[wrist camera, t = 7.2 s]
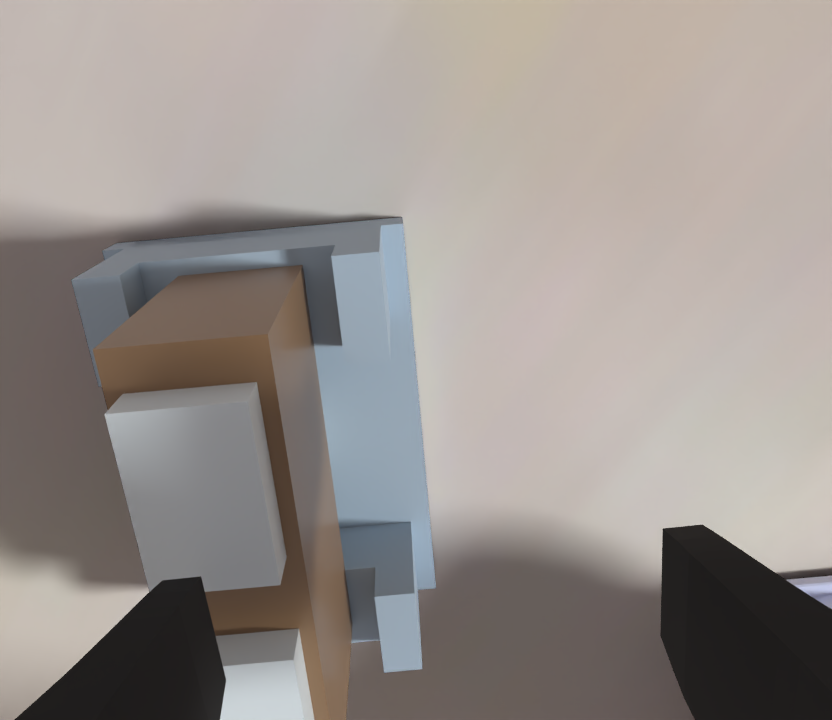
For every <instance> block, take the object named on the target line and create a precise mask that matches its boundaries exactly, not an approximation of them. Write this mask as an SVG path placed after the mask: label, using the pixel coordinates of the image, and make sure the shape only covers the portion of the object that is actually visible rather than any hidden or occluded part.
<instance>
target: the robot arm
mask: <svg viewBox="0 0 832 720" xmlns="http://www.w3.org/2000/svg"><path fill="white" fill-rule="evenodd" d="M661 638H662V641H663V643H664V646H665V649H666V652H667V654H668V657H669V660H670V663H671V665H672V668H673V671H674V673H675V676H676V678H677V681H678V684H679V686H680V689H681V691H682V694H683V696H684V699H685V701H686V703H687V705H688V707H689V709H690V711H691V713H692V715H693V716H694V718H695V720H832V575H831V576H821V577H810V578H799V579H788V580H785V579H784V578H782V577H781V576H779V575H778V574H776V573H775V572H773V571H772V570H770V569H769V568H767V567H766V566H764V565H763V564H761V563H760V562H758V561H757V560H755V559H754V558H752V557H751V556H749V555H748V554H746V553H745V552H743V551H742V550H740V549H739V548H737V547H736V546H734V545H733V544H731V543H730V542H729V541H727V540H726V539H724V538H723V537H721V536H719V535H718V534H716V533H715V532H713V531H712V530H710V529H708V528H707V527H705V526H704V525H694V526H685V527H675V528H665V529H663V547H662V595H661ZM225 684H226V677H225V673H224V669H223V665H222V661H221V657H220V652H219V648H218V644H217V640H216V636H215V632H214V628H213V624H212V619H211V615H210V611H209V607H208V603H207V599H206V595H205V591H204V586H203V582H202V578H201V576H200V577H190V578H181V579H171V580H162V581H161V582H160V583H159V584H158V585H157V586H156V587H154V588H153V589H152V590H151V591H150V592H149V593H148V594H147V595H146V596H145V597H144V598H143V599H142V600H141V601H140V602H139V603H138V604H137V605H136V606H135V607H134V608H133V609H132V610H131V611H130V612H129V613H128V614H127V615H126V616H125V617H124V618H123V619H122V620H121V621H120V622H119V623H118V624H117V625H116V626H115V627H113V628H112V629H111V630H110V631H109V632H108V633H107V634H106V635H105V636H104V637H103V638H102V639H101V640H100V641H99V642H98V643H97V644H96V645H95V646H94V647H93V648H92V649H91V650H90V651H89V652H88V653H87V654H86V655H85V656H84V657H83V658H82V659H81V660H80V661H79V662H78V663H76V664H75V665H74V666H73V667H72V668H71V669H70V670H69V671H68V672H67V673H66V674H65V675H64V676H63V677H62V678H61V679H60V680H58V681H57V682H56V683H55V684H54V685H53V686H52V687H51V688H49V689H48V690H47V691H46V692H45V693H44V694H43V695H42V696H41V697H39V698H38V699H37V700H36V701H35V702H34V703H33V704H32V705H31V706H29V707H28V708H27V709H26V710H25V711H24V712H23V713H22V714H20V715H19V716H18V717H17V718H16V719H15V720H220V716H221V710H222V703H223V697H224V691H225Z"/></svg>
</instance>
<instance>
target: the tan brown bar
mask: <svg viewBox="0 0 832 720" xmlns="http://www.w3.org/2000/svg"><path fill="white" fill-rule="evenodd" d="M93 353H94V357H95V361H96V365H97V369H98V373H99V377H100V381H101V385H102V389H103V393H104V397H105V401H106V405H107V409H108V411H107V412H106V413H105V414H104V415H105V419H106V423H107V427H108V430H109V434H110V438H111V442H112V446H113V450H114V454H115V458H116V462H117V466H118V470H119V474H120V478H121V482H122V486H123V490H124V493H125V497H126V501H127V505H128V509H129V513H130V517H131V521H132V525H133V529H134V533H135V537H136V541H137V545H138V549H139V553H140V557H141V560H142V564H143V568H144V572H145V576H146V580H147V584H148V588H149V592H150V591H151V590H152V589H153V588H154V587H156V586H157V585H158V584H159V583H160V582H161V581H162V580H171V579H181V578H190V577H200V576H201V578H202V582H203V586H204V591H205V595H206V599H207V603H208V607H209V611H210V615H211V619H212V624H213V628H214V632H215V636H216V640H217V644H218V648H219V652H220V657H221V661H222V665H223V669H224V673H225V677H226V684H225V691H224V697H223V703H222V710H221V716H220V720H346V712H347V698H348V683H349V669H350V655H351V640H352V626H353V624H352V617H351V610H350V602H349V595H348V588H347V581H346V573H345V566H344V559H343V552H342V544H341V537H340V530H339V523H338V515H337V508H336V501H335V494H334V487H333V479H332V472H331V465H330V458H329V450H328V443H327V436H326V429H325V421H324V414H323V407H322V400H321V393H320V385H319V378H318V371H317V364H316V356H315V349H314V342H313V335H312V327H311V320H310V313H309V306H308V298H307V291H306V284H305V277H304V270H303V265H295V266H284V267H272V268H261V269H250V270H238V271H227V272H216V273H204V274H193V275H182V276H178V277H176V278H175V279H174V280H173V281H172V282H171V283H169V284H168V285H167V286H166V287H165V288H164V289H162V290H161V291H160V292H159V293H158V294H157V295H155V296H154V297H153V298H152V299H151V300H150V301H149V302H147V303H146V304H145V305H144V306H143V307H142V308H140V309H139V310H138V311H137V312H136V313H135V314H133V315H132V316H131V317H130V318H129V319H128V320H126V321H125V322H124V323H123V324H122V325H121V326H119V327H118V328H117V329H116V330H115V331H114V332H112V333H111V334H110V335H109V336H108V337H107V338H105V339H104V340H103V341H102V342H101V343H100V344H98V345H97V346H96V347H95V348H94V349H93Z"/></svg>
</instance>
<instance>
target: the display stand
mask: <svg viewBox="0 0 832 720" xmlns="http://www.w3.org/2000/svg"><path fill="white" fill-rule="evenodd" d="M102 252H103V256H104V261H103V262H101V263H99V264H97V265H96V266H94V267H92V268H91V269H89V270H87V271H85V272H84V273H82V274H80V275H79V276H77V277H75V278H73V279H72V280H71V281H72V285H73V289H74V293H75V297H76V301H77V304H78V308H79V312H80V316H81V320H82V324H83V328H84V332H85V336H86V340H87V343H88V347H89V351H90V355H91V359H92V363H93V367H94V371H95V375H96V378H97V382H98V386H99V387H101V386H102V385H101V381H100V377H99V373H98V369H97V365H96V361H95V357H94V353H93V349H94V348H95V347H96V346H97V345H98V344H100V343H101V342H102V341H103V340H104V339H105V338H107V337H108V336H109V335H110V334H111V333H112V332H114V331H115V330H116V329H117V328H118V327H119V326H121V325H122V324H123V323H124V322H125V321H126V320H128V319H129V318H130V317H131V316H132V315H133V314H135V313H136V312H137V311H138V310H139V309H140V308H142V307H143V306H144V305H145V304H146V303H147V302H149V301H150V300H151V299H152V298H153V297H154V296H155V295H157V294H158V293H159V292H160V291H161V290H162V289H164V288H165V287H166V286H167V285H168V284H169V283H171V282H172V281H173V280H174V279H175V278H176V277H178V276H182V275H193V274H204V273H216V272H227V271H238V270H250V269H261V268H272V267H284V266H295V265H303V270H304V277H305V284H306V291H307V298H308V306H309V313H310V320H311V327H312V335H313V342H314V349H315V356H316V364H317V371H318V378H319V385H320V393H321V400H322V407H323V414H324V421H325V429H326V436H327V443H328V450H329V458H330V465H331V472H332V479H333V487H334V494H335V501H336V508H337V515H338V523H339V530H340V537H341V544H342V552H343V559H344V566H345V573H346V581H347V588H348V595H349V602H350V610H351V617H352V624H353V626H352V640H351V643H357V642H368V641H379V640H380V644H381V652H382V660H383V668H384V673H386V672H396V671H407V670H418V669H422V653H421V636H420V618H419V601H418V590H422V589H433V588H436V582H435V571H434V560H433V549H432V538H431V527H430V516H429V505H428V494H427V483H426V472H425V461H424V450H423V439H422V428H421V417H420V406H419V395H418V384H417V373H416V362H415V351H414V340H413V329H412V318H411V307H410V296H409V285H408V274H407V263H406V252H405V241H404V230H403V220H402V217H398V218H387V219H376V220H365V221H354V222H343V223H332V224H321V225H310V226H299V227H288V228H277V229H266V230H255V231H244V232H233V233H222V234H211V235H200V236H189V237H178V238H167V239H156V240H145V241H134V242H123V243H116V244H114V245H112V246H110V247H108V248H107V249H105V250H103V251H102Z"/></svg>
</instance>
